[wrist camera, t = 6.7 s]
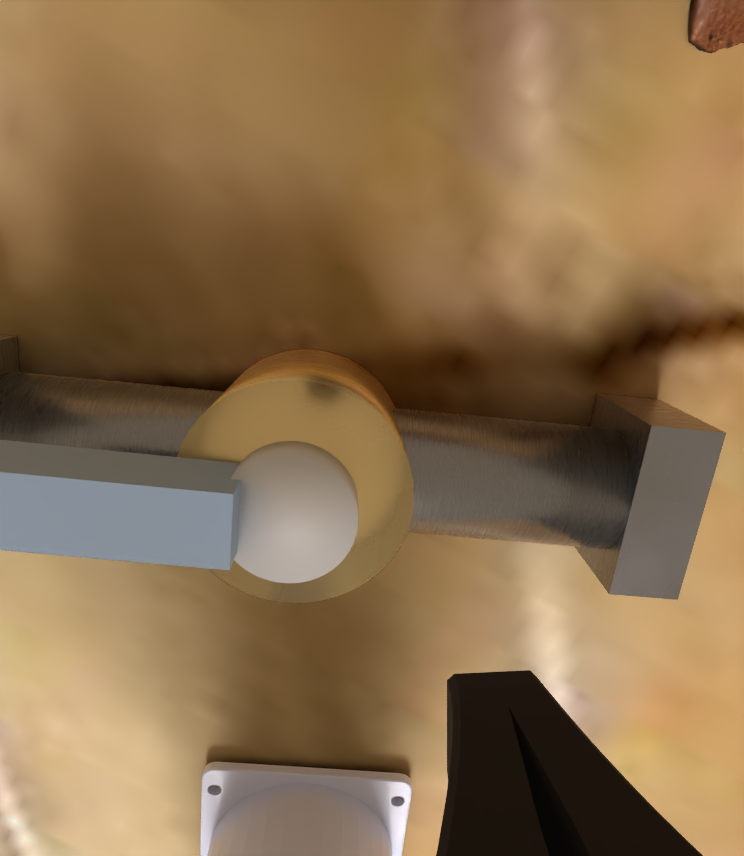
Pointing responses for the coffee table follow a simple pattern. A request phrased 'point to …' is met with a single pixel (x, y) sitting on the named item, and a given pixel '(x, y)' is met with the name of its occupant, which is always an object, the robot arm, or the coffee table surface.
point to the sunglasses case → (716, 24)
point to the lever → (181, 508)
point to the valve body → (411, 463)
